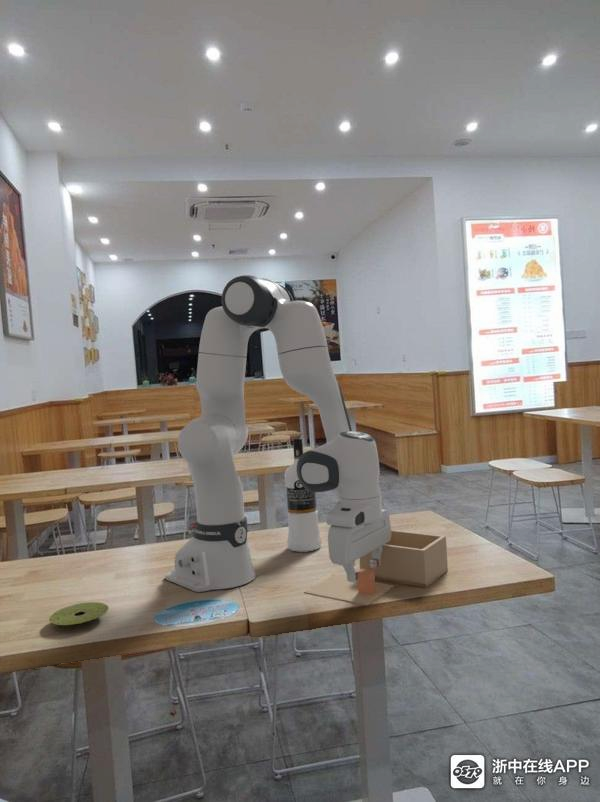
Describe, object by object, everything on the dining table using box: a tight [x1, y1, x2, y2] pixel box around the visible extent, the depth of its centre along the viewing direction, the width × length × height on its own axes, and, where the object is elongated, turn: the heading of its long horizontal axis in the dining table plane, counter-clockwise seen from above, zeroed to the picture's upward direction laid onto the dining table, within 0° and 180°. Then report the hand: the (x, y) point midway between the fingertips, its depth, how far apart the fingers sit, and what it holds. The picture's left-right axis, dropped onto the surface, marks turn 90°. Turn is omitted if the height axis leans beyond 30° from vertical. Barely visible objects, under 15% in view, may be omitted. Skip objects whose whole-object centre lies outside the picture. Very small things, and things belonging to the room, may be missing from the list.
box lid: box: [303, 568, 394, 607], centre depth 126 cm, size 16×12×5 cm
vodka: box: [283, 437, 323, 553], centre depth 158 cm, size 9×9×30 cm
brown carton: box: [359, 529, 449, 589], centre depth 134 cm, size 16×12×8 cm
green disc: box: [48, 601, 109, 626], centre depth 118 cm, size 11×11×2 cm
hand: (364, 573), depth 123 cm, fingers open, 8 cm apart
